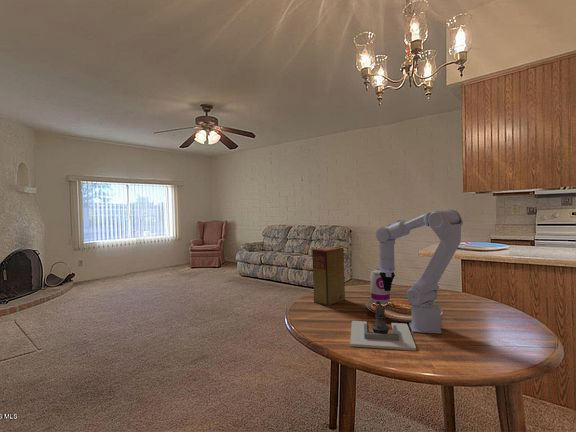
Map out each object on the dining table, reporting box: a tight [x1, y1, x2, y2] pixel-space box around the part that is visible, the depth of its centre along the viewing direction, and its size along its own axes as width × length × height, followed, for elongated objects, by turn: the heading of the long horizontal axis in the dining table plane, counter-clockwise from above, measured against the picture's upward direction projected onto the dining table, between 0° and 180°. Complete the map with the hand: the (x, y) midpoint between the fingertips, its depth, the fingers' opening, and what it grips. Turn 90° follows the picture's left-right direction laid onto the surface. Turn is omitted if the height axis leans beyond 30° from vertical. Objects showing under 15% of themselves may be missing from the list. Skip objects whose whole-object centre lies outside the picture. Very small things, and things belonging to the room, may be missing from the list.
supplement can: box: [369, 269, 391, 304], centre depth 141 cm, size 8×8×15 cm
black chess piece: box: [371, 303, 390, 334], centre depth 107 cm, size 6×6×12 cm
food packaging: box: [311, 246, 346, 307], centre depth 148 cm, size 13×9×25 cm
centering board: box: [349, 320, 417, 352], centre depth 108 cm, size 20×20×2 cm
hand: (387, 290), depth 126 cm, fingers closed
